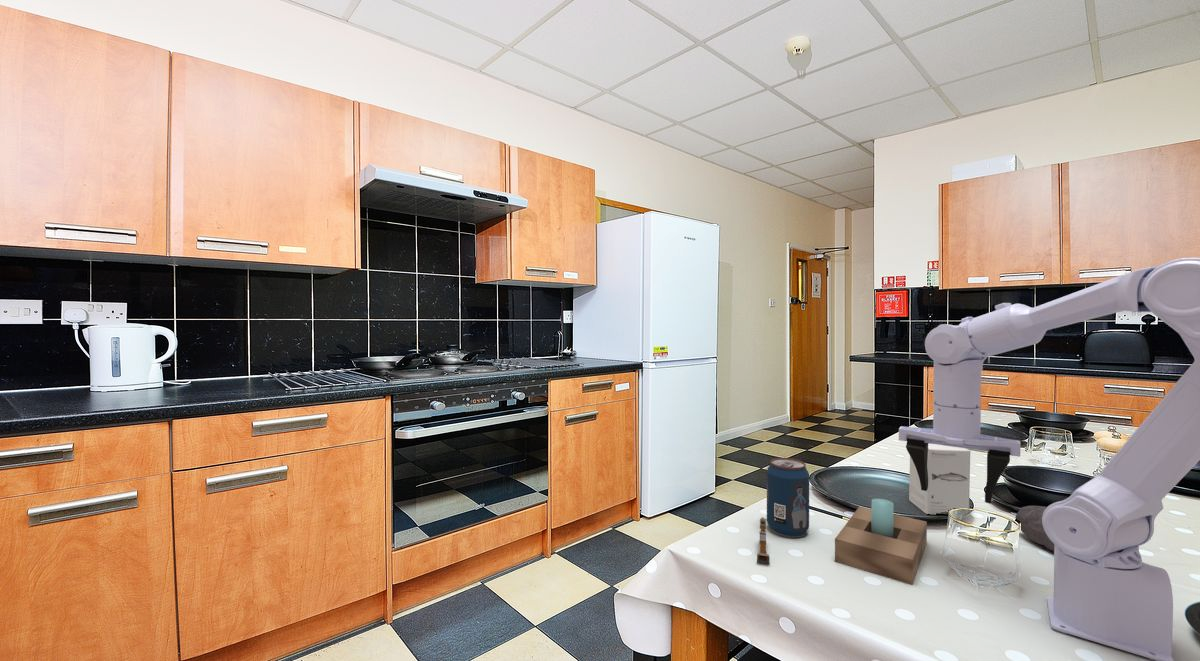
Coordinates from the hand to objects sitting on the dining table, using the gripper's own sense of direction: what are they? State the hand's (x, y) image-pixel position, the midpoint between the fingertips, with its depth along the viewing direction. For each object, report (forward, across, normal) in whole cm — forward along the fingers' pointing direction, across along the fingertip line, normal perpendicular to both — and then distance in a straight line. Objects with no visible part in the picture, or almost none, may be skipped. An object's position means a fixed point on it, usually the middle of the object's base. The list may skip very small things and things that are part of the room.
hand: (955, 494), depth 72 cm
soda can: (+11, -23, -5) cm, 26 cm away
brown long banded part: (+11, -24, -15) cm, 30 cm away
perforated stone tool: (+11, +13, +14) cm, 22 cm away
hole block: (+10, -9, -3) cm, 14 cm away
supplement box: (+11, -4, +23) cm, 26 cm away
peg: (+10, -9, -3) cm, 14 cm away
